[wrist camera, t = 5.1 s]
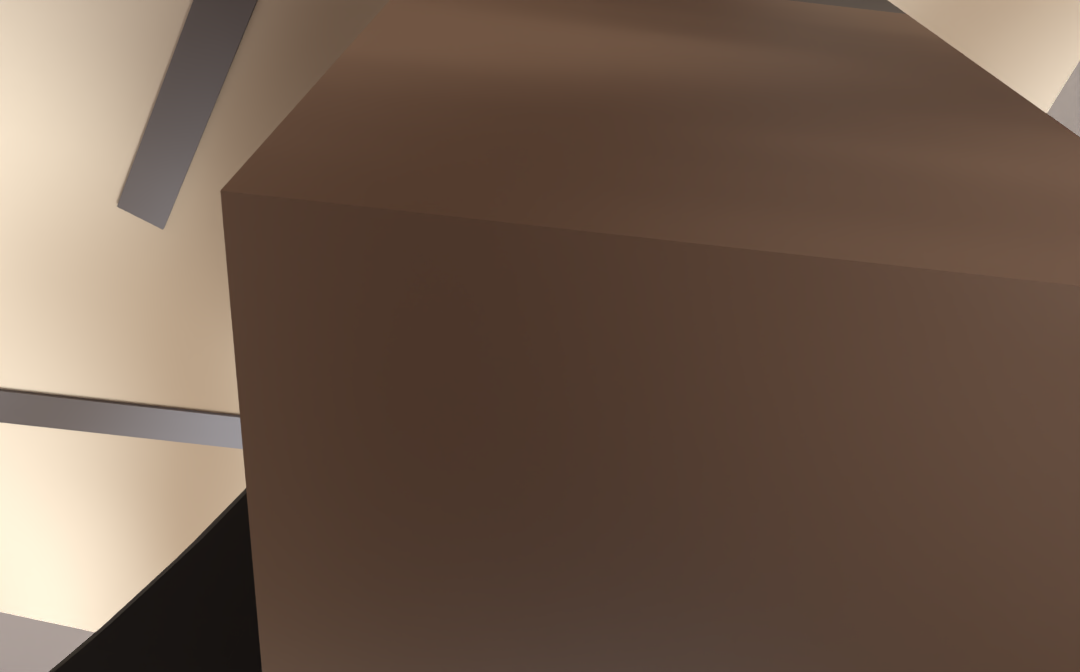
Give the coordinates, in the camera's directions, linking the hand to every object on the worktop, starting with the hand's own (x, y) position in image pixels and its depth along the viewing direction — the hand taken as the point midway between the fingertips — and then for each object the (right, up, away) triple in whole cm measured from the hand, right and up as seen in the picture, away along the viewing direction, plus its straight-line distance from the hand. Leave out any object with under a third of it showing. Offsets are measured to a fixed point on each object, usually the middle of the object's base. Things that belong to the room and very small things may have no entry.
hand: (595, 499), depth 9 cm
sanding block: (0, +2, +1) cm, 2 cm away
